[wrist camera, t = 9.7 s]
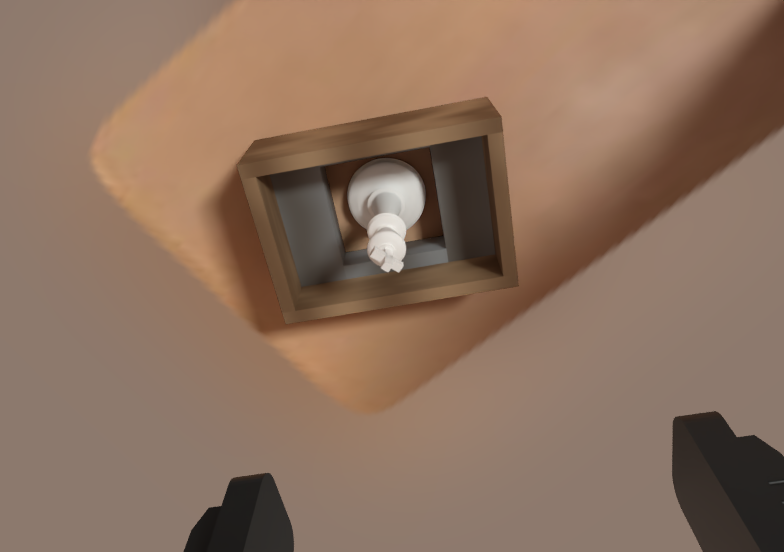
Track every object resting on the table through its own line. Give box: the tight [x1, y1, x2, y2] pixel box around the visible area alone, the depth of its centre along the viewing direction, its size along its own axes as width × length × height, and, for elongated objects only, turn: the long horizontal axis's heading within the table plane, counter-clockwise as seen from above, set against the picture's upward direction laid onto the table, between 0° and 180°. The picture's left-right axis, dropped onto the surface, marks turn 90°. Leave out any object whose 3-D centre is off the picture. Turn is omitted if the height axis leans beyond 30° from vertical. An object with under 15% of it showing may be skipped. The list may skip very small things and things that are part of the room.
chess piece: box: [347, 158, 426, 273], centre depth 34 cm, size 5×5×10 cm
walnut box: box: [237, 97, 519, 324], centre depth 36 cm, size 14×10×5 cm
